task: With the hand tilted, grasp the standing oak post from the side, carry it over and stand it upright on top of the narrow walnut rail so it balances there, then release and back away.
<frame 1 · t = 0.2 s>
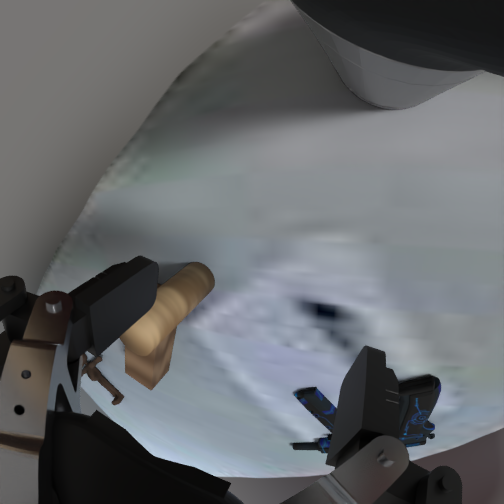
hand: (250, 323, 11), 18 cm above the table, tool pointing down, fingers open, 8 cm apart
gun: (357, 414, 35), on the table
oak post: (199, 278, 35), on the table
walnut rail: (160, 330, 41), on the table
brown toy figure: (101, 372, 57), on the table
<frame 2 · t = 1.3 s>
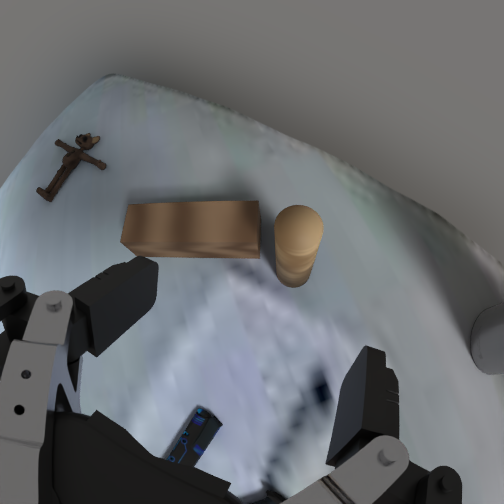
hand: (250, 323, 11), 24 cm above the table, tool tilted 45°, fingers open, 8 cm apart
gun: (199, 478, 28), on the table
oak post: (293, 271, 36), on the table
walnut rail: (197, 238, 38), on the table
brown toy figure: (72, 169, 46), on the table
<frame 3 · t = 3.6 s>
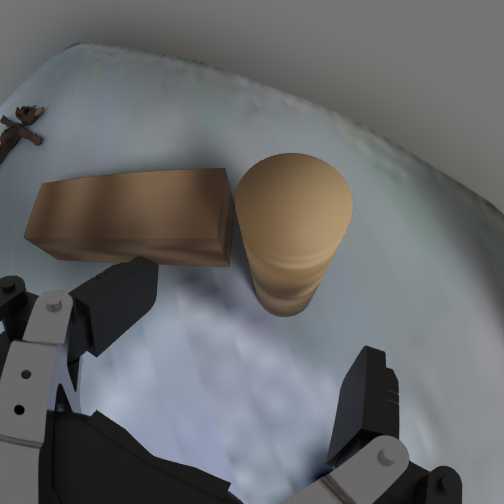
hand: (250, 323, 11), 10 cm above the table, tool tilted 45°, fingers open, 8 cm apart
oak post: (284, 288, 21), on the table
walnut rail: (135, 234, 24), on the table
brown toy figure: (12, 149, 32), on the table
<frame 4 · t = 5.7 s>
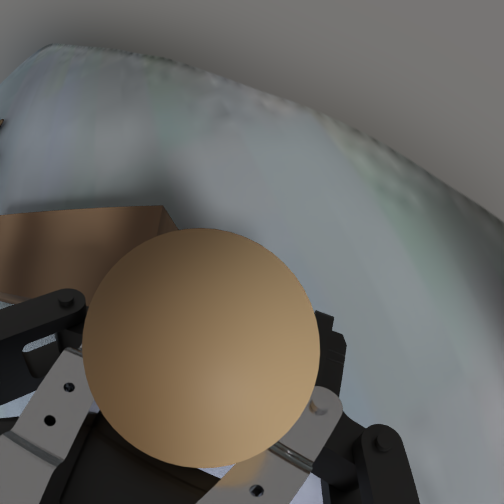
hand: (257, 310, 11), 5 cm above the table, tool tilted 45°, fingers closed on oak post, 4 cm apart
oak post: (249, 360, 16), on the table, touching gripper
walnut rail: (76, 278, 18), on the table
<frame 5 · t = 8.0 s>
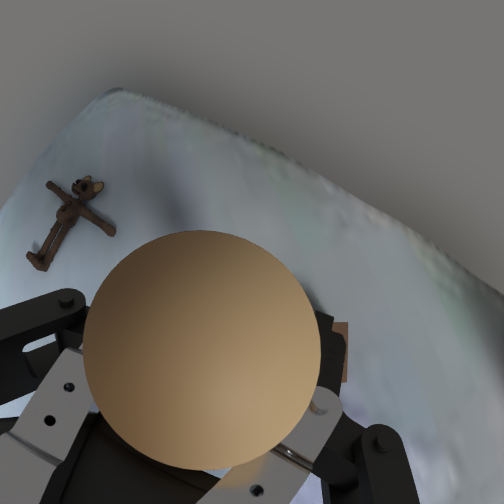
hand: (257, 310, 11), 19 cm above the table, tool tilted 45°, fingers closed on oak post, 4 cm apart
oak post: (249, 361, 16), point 13 cm above the table, touching gripper
walnut rail: (254, 352, 28), on the table
brown toy figure: (70, 226, 37), on the table
when the fingers open (11 cm above the table, at t = 10.1 s): oak post drops 1 cm, resting on walnut rail.
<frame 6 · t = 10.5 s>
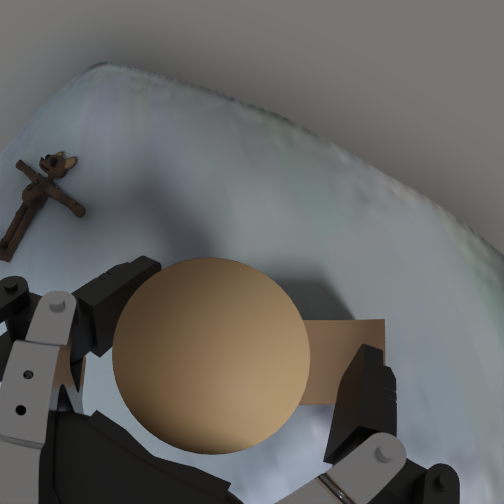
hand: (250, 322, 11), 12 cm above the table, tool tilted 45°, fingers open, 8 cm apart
oak post: (250, 363, 17), point 5 cm above the table, touching walnut rail
walnut rail: (255, 362, 21), on the table
brown toy figure: (38, 209, 29), on the table
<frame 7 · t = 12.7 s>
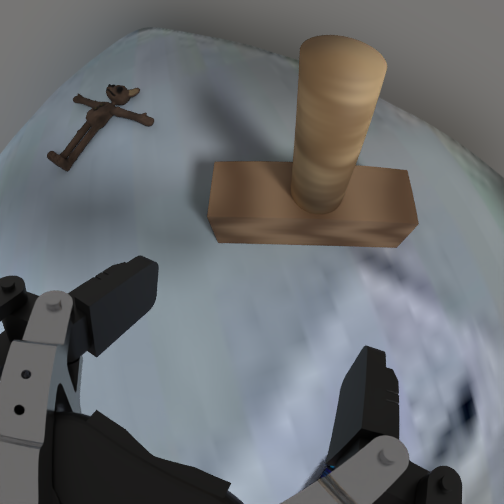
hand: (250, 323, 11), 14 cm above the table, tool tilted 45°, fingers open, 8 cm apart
oak post: (317, 190, 22), point 5 cm above the table, touching walnut rail
walnut rail: (310, 219, 27), on the table
brown toy figure: (99, 130, 34), on the table
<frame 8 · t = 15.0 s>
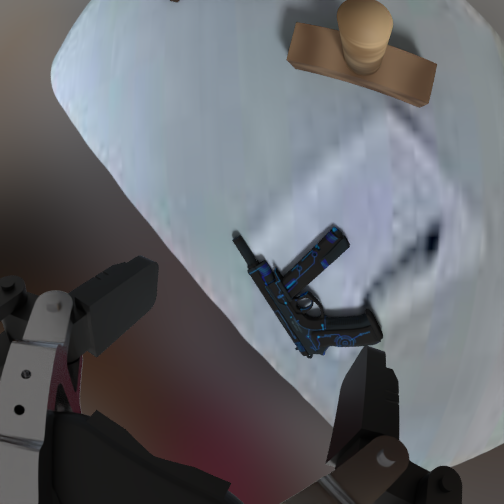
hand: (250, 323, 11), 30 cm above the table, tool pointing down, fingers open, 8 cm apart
gun: (315, 285, 43), on the table
oak post: (362, 58, 26), point 5 cm above the table, touching walnut rail
walnut rail: (362, 67, 30), on the table
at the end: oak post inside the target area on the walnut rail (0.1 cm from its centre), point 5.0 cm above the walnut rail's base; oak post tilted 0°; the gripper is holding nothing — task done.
